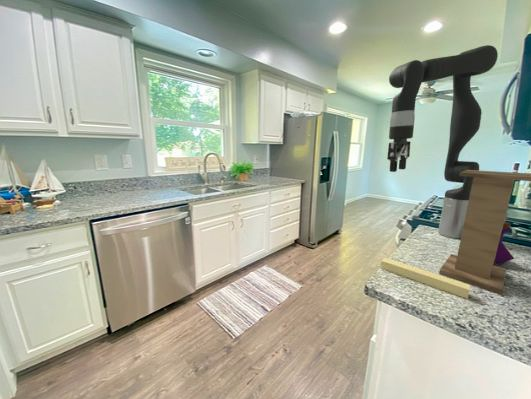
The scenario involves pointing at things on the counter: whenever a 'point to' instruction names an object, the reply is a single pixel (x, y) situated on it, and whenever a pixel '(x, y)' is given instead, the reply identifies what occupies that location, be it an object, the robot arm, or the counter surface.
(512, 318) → the counter surface
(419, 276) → the ochre bar
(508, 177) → the walnut stand
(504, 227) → the perfume bottle
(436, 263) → the counter surface
